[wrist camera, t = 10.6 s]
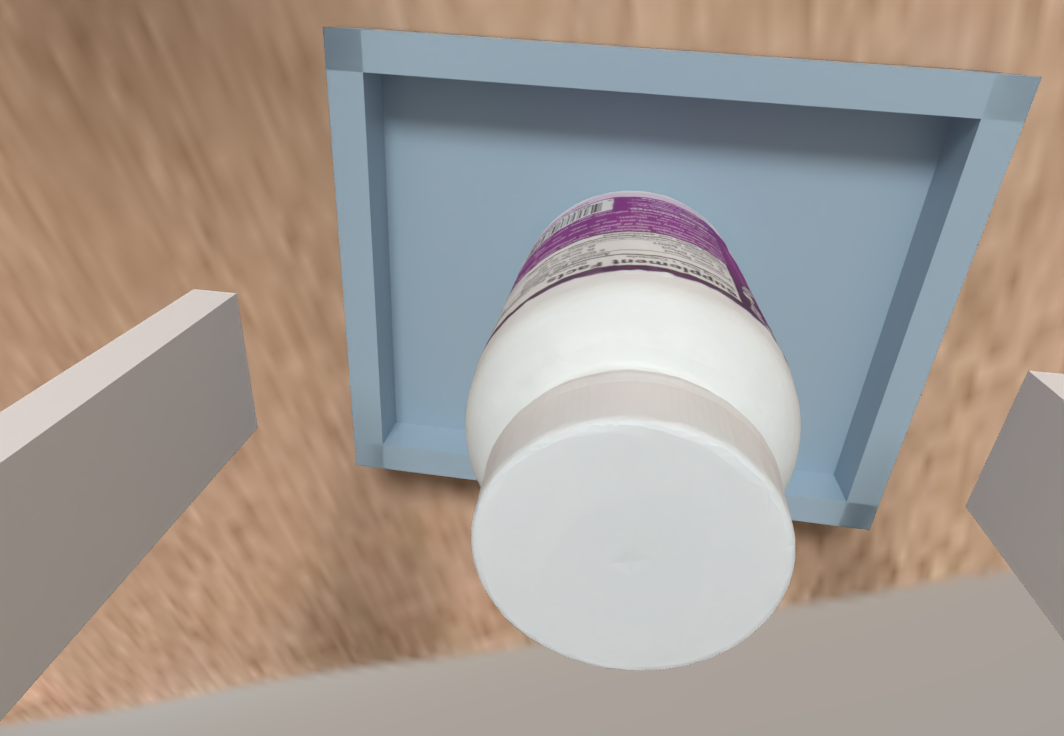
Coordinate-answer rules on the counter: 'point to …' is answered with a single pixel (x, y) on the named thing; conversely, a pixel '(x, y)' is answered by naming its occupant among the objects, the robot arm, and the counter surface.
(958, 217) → the tray
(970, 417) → the counter surface
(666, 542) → the pill bottle
